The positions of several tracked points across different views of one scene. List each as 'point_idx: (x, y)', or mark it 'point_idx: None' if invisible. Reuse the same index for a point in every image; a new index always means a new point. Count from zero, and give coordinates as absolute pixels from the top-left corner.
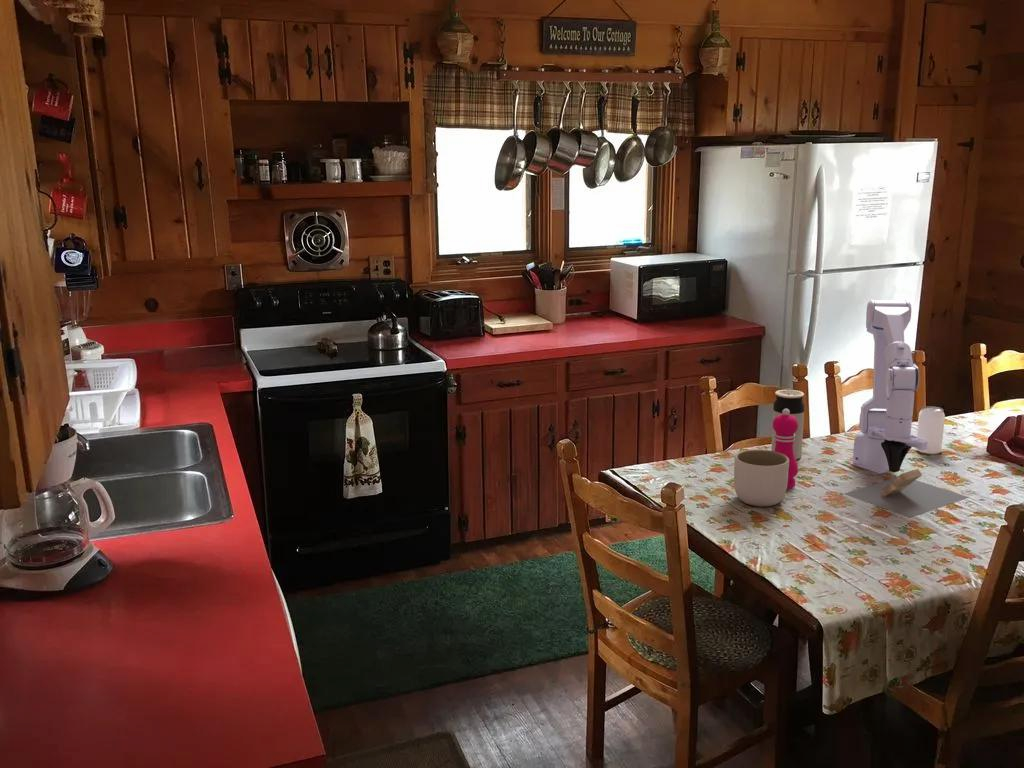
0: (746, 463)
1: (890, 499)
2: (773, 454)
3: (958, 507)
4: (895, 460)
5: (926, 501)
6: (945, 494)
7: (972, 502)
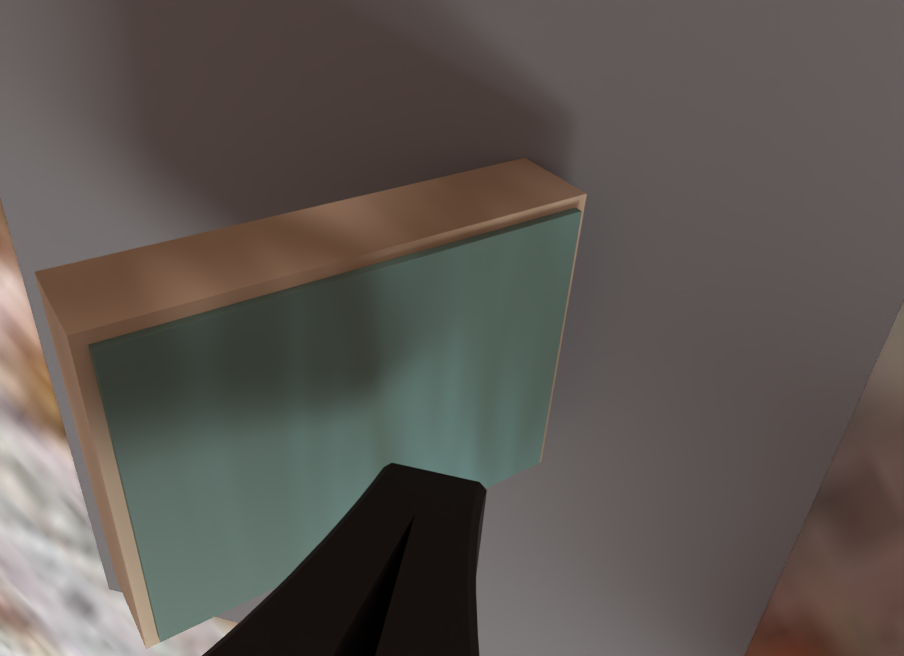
0: None
1: (423, 130)
2: None
3: (23, 405)
4: (231, 636)
5: None
6: None
7: (65, 540)
